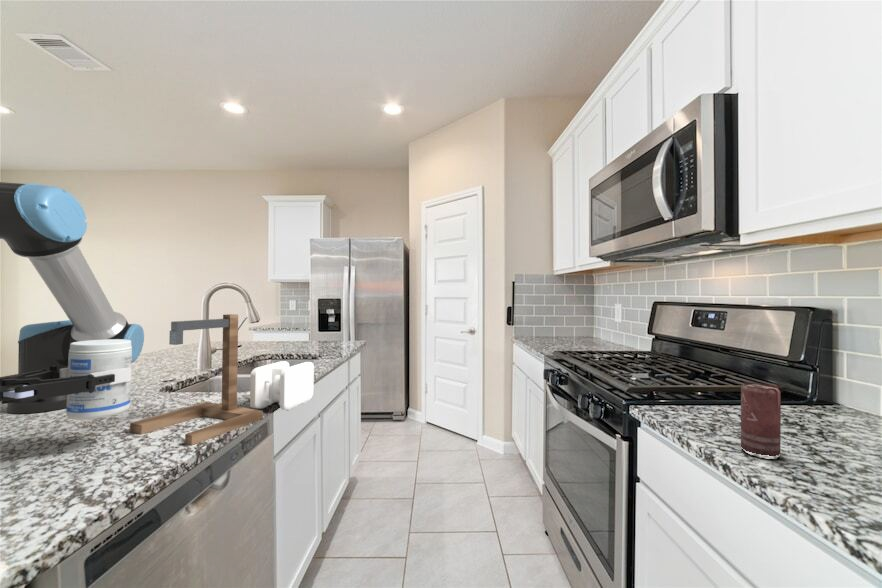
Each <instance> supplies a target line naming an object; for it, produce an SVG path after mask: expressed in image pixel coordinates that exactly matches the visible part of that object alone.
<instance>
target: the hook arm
mask: <svg viewBox="0 0 882 588" xmlns="http://www.w3.org/2000/svg"><path fill="white" fill-rule="evenodd" d="M223 327H229V319H223V318H216V319H215V318H212V319H211V318H209V319H195V320H194V319H193V320H192V319H191V320H176V321H171V322H170V330H169V338H168V339H169V345H173V346H177V345H184V331H193V330H194V331H195V330H207V329H220V328H222V329H223Z"/></svg>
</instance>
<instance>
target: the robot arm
mask: <svg viewBox="0 0 882 588" xmlns="http://www.w3.org/2000/svg"><path fill="white" fill-rule="evenodd" d="M86 219H87V216H86V212H85V211H84V207H83V206H82V205H81V203H80V201H79V200H78V199H77V198H76V197H75V196H74V195H72V194H71V192H69V191H67V190H64V189H63V188H60V187H57V186H53V185H44V184H41V183H34V182H33V183H31V182H29V183H20V182H19V183H18V182H16V183H15V182H5V181H3V182H2V181H0V240H1V239H2V240H4V241H5V243H6V244H7V246H8V247H9V248H10V250H11V251H12V253H14V255H17V256H20V257H24V258H28V259H29V261H30V262H31V264H32V266H33V267H34V269H35V270H36V272H37V273H38V275H39V277H40V278H41V279H42V280H43V282H44V284H45V285H46V287H47V288H48V290H49V291H50V293H51V294H52V295H53V297H54V298H55V300H56V302H57V304H58V305H59V306H60V307H61V309H62V311H63V312H64V313H65V315H66V316H67V318H68V320H67V319H66V320H59V321H50V322H49V321H48V322H39V323H31V324H30V323H29V324H27V325H24V326H22V327H21V328H20V330H19V333H18V334H19V335H18V340H17V344H18V358H17V359H18V364H17V365H18V366H17V367H18V369H17V371H18V373H16V374H10V375H5V376H0V402H1V404H6V405H7V406H6V407H7V408H6V409H7V411H6V412H7V413H10V414H33V413H34V414H35V413H43V412H51V411H56V410H57V411H58V410H61V409H67V395H69V394H75V393H82V392H88V391H89V393H93V392H94V390H95V388H96V387H101V386H106V385H112V384H117V383H122V382H127V381H131V382H132V366H131V367H128V368H121V369H116V370H109V371H103V372H97V373H90V375H86V376H76V377H68V356H69V350H70V344H71V343H73V342H79V341H88V340H104V339H125V340H131V346H132V348H131V349H132V364H133V363H134V362H136V361H137V359H138V358H139V357H140V355H141V353H142V350H143V346H144V342H145V332H144V328H143V326H142V325H141V324H138V323H128V319H127V318H126V317H125V316H124V315H123V314H122V313H120V312H117V311H114V309H113V307H112V305H111V303H110V301H109V299H108V298H107V297H106V295H105V292H104V291H103V289H102V287H101V286H100V284H99V281H98V279H97V277H96V276H95V274H94V273H93V271H92V269H91V267H90V265H89V264H88V261H87V260H86V258H85V256H84V254H83V253H82V251H81V249H80V247H79V245H80V244H81V243H82V241H83V237H84V235H85V233H86V232H87V227H88V226H87V225H88V222H87V221H85V220H86Z"/></svg>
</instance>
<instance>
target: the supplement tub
mask: <svg viewBox="0 0 882 588" xmlns="http://www.w3.org/2000/svg"><path fill="white" fill-rule="evenodd" d="M131 348H132V346H131V340H125V339H104V340H88V341H79V342H73V343H71V344H70V350H69V356H68V377H76V376H86V375H90V373H97V372H103V371H109V370H116V369H121V368H128V367H131V368H132V365H133V363H132V349H131ZM131 387H132V380H131V381H127V382H122V383H117V384H112V385H106V386H101V387H96V388H95V390H94V392H93V393H89V391H88V392H82V393H75V394H69V395H67V408H66V413H65V414H66V417H68V418H69V419H71V420H77V421H89V420H98V419H102V418H106V417H107V418H110V417H113V416H116V415H120V414H123V413H125V412H126V411H127V410H129V408H130V406H131V394H132V391H131V390H132V388H131Z"/></svg>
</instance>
